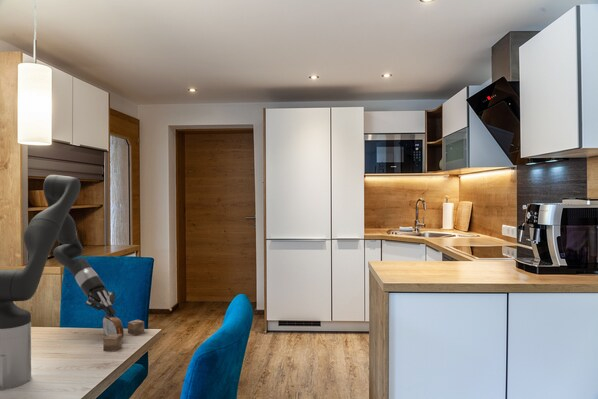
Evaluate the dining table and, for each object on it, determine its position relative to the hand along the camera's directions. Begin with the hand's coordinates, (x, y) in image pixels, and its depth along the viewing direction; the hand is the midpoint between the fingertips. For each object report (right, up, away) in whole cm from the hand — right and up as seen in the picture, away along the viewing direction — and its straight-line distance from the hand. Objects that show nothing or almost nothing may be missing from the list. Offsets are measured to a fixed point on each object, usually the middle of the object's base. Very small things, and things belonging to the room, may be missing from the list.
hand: (112, 315), depth 156 cm
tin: (0, -9, 0) cm, 9 cm away
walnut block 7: (+7, -9, +6) cm, 13 cm away
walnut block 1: (+5, -9, -11) cm, 15 cm away
